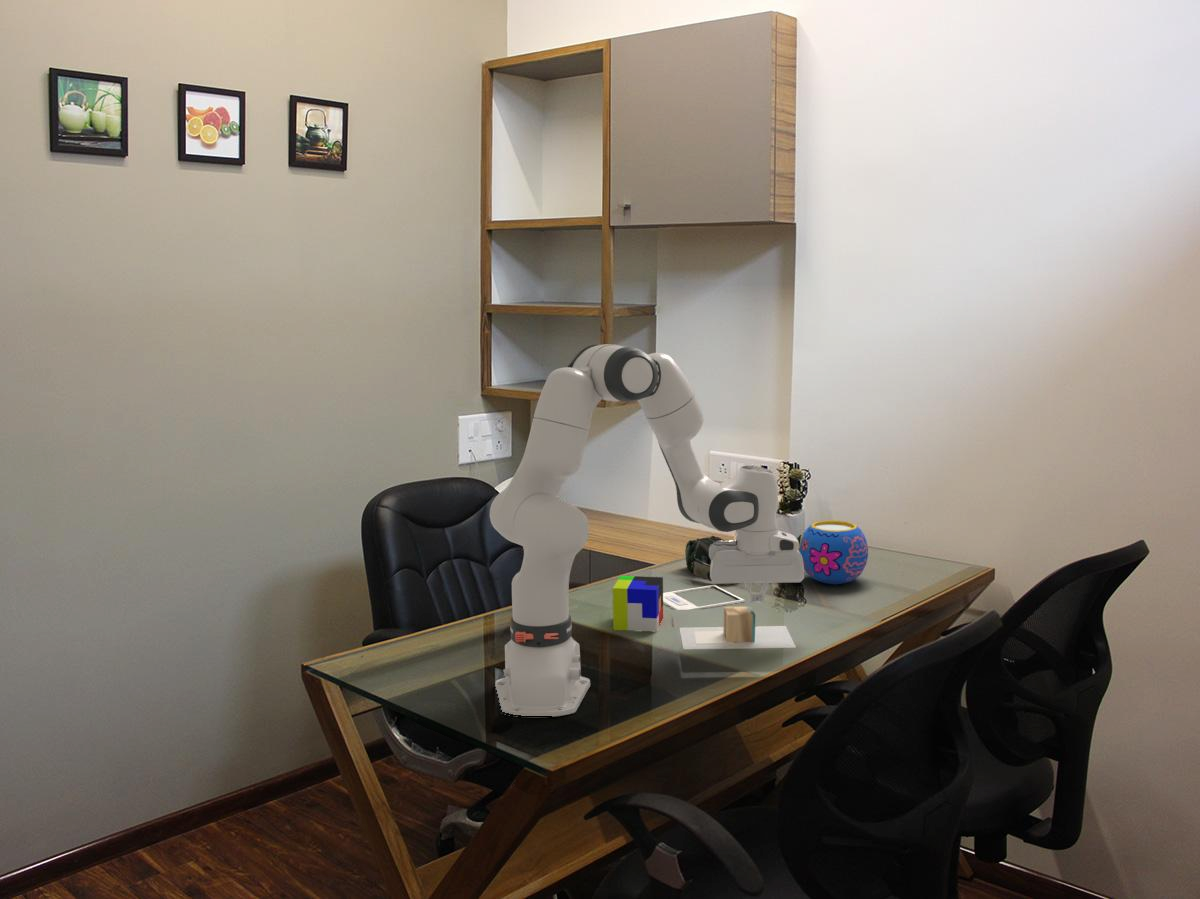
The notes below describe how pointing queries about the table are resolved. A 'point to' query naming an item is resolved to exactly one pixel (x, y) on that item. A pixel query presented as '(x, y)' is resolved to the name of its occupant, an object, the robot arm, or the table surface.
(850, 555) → the ceramic pot
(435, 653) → the table surface
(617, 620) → the puzzle toy
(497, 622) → the table surface
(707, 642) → the grey board
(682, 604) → the photo frame
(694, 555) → the headphones
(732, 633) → the wood cube
